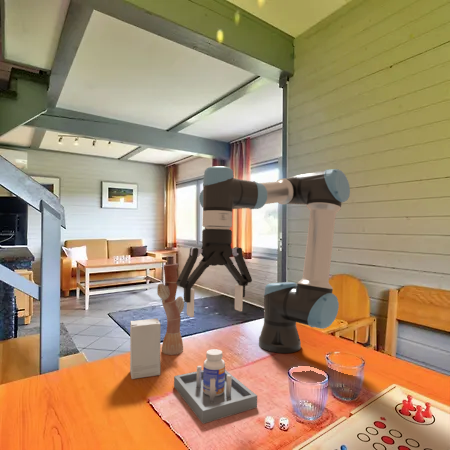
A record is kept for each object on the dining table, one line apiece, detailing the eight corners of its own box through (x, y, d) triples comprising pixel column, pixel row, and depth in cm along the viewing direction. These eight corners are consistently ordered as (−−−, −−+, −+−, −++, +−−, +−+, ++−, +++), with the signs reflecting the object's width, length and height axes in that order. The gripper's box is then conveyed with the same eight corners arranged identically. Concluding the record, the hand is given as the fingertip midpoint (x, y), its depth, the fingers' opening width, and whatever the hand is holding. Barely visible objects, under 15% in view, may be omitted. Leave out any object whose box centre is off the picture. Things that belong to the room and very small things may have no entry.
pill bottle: (222, 398, 73) (223, 357, 74) (200, 395, 74) (201, 354, 75) (226, 387, 79) (227, 349, 79) (205, 385, 80) (206, 347, 80)
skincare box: (157, 367, 93) (159, 317, 93) (160, 376, 87) (162, 323, 87) (128, 371, 90) (130, 319, 90) (129, 380, 84) (131, 325, 85)
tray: (173, 386, 81) (174, 362, 81) (220, 375, 88) (221, 353, 88) (202, 423, 65) (203, 394, 66) (257, 407, 72) (257, 380, 72)
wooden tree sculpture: (180, 345, 111) (182, 262, 112) (188, 352, 105) (190, 264, 106) (151, 350, 106) (154, 262, 107) (157, 357, 100) (160, 264, 101)
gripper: (175, 226, 69) (172, 322, 68) (265, 229, 81) (264, 311, 80) (164, 227, 75) (162, 314, 75) (250, 229, 87) (248, 305, 87)
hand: (215, 313), depth 77 cm, fingers open, 13 cm apart
